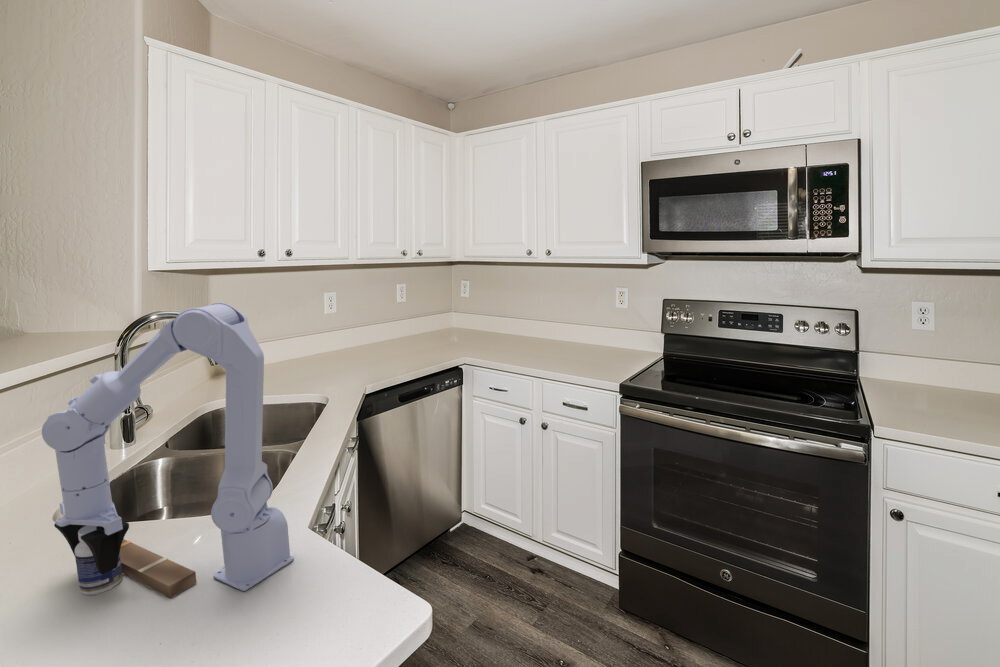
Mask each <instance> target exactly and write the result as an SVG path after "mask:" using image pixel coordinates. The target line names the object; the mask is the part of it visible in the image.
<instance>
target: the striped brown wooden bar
mask: <svg viewBox="0 0 1000 667" xmlns="http://www.w3.org/2000/svg"><path fill="white" fill-rule="evenodd" d="M120 558H121V566H122V575H125V576H126V577H128V578H129V579H132V580H134V581H136V582H138V583H140V584H142V585H144V586H146V587H147V588H150V589H151V590H154V591H155V592H157V593H159V594H162V595H163V596H164V597H165V596H166V597H168V598H169V599H172V598H174V597H176V596H177V595H179V594H181V593H182V592H184V591H186V590H188V589H189V588H191V587H193V586H194V585H197V583H198V582H197V575H196V571H194V570H192V569H191V568H188V567H187V566H183V565H181V564H180V563H177V562H175V561H173V560H171V559H169V558H168V557H165V556H162V555H160V554H157V553H155V552H153V551H151V550H148V549H146V548H144V547H141V545H138V544H135V543H133V541H130V540H126V539H125V538H124V539H123V541H122V544H121V548H120Z"/></svg>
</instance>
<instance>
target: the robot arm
mask: <svg viewBox="0 0 1000 667" xmlns="http://www.w3.org/2000/svg"><path fill="white" fill-rule="evenodd" d="M187 350H188V351H191V352H193V353H196V354H198V355H200V356H203V357H206V358H208V359H211V360H212V361H214V362H215V363H216V364H218V365H219V366H221V368H223V369H224V370H225V423H224V424H225V429H224V430H225V433H224V434H225V435H224V436H225V437H224V440H225V442H224V470H223V472H222V475H221V478H220V481H219V484H218V487H217V497H216V500H215V501H214V503H213V504H212V506H211V510H210V513H211V515H210V517H211V520H212V522H213V523H214V525H215V526H216V527H217V528H218V529H219V530H220V535H221V536H220V537H221V545H222V554H223V555H222V557H223V568H222V569H219V570H218V571H216V572H214V573H213V575H212V577H213V578H214V579H215V580H218V581H220V582H222V583H225V584H227V585H229V586H231V587H233V588H235V589H238V590H240V591H241V592H242V591H243V592H244V591H247V590H249V589H250V588H252V587H253V586H255V585H257V584H258V583H260V582H261V581H263V580H265V579H266V578H267V577H269V576H271V575H272V574H274V573H276V572H277V571H279V570H280V569H282V568H283V567H285V566H287V565H288V564H289V563H291V562H293V561H294V556H293V555H292V556H291V549H290V536H289V526H288V521H287V519H286V517H285V515H284V513H283V512H282V511H281V510H280V509H279V508H277V507H275V506H271V507H269V506H268V502H267V501H268V500H270V499H271V496H272V494H273V490H274V489H273V488H274V486H273V483H272V480H271V478H270V476H269V473H268V464H267V463H265V462H264V461H263V460H262V457H263V456H262V455H263V418H264V417H263V416H264V415H263V414H264V379H265V378H264V376H265V355H264V352H263V350H262V348H261V346H260V345H259V343H258V341H257V339H256V338H255V335H254V334H253V332H252V330H251V328H250V326H249V320H248V317H247V316H246V315H244V314H243V312H240V311H239V310H238V309H237V308H235V307H234V306H233V305H231V304H228V303H226V302H214V303H212V304H209V305H205V306H200V307H190V308H187V309H184V310H182V311H181V312H179V314H178V315H177V316H175V318H174V319H171V320H170V321H168V322H167V323H165V324H164V325H163V326H162V328H160V330H159V331H158V332H157V333H156V334H155V335H154V336H153V337H152V338H151V339H150V340H149V341H148V342H147V343H146V344H145V345H144V346H143V347H142V348H141V349H140V350H139V351H138V352H137V353H136V354H135V355H134V356H133V357H132V358H131V359H130V360H129V361H128V362H127V363H126V364H125V365H124V366H123V367H122V368H121V369H120V370H118V371H117V370H112V371H106V372H104V373H99V374H96V375H95V376H93V377H92V378H90V380H89V381H90V383H91V385H90V386H89V387H87V389H86V390H84V391H83V392H82V393H81V394H80V395H79V396H75V397H73V398H71V399H70V400H68V402H67V404H68V407H67V409H66V410H63V411H57V412H55V413H53V414H50V415H49V416H47V419H46V421H44V423H43V424H42V427H41V437H42V439H43V441H44V442H45V444H46V445H47V446H49V447H50V448H51V449H53V450H55V457H56V464H57V470H58V471H57V472H58V477H59V483H60V484H59V485H60V490H61V496H62V501H60V502H59V508H60V509H59V510H60V515H63V516H62V517H60V518H57V519H56V520H55V523H54V526H53V527H55V528H56V529H57V530H58V531H59V532H60V533H61V535H62V536H63V537H64V539H65V540H66V541H67V543H68V545H69V547H70V549H71V551H72V554H73V555H74V557H75V547H76V546H77V545H78V544H79V543H80V541H79V539H78V531H79V530H80V529H81V528H83V527H84V526H87V525H89V526H97V527H96V530H95V531H92V532H90V533H87V534H85V535H82V536H81V539H82V540H83V541H84V542H85V543H86V544H87V546H88V547H89V548H90V550H91V552H92V554H93V557H94V560H95V563H96V566H97V569H98V571H99V572H100V573H101V574H104V573H107V572H109V571H111V570H113V569H115V568H117V565H118V560H119V553H120V548H121V544H122V541H123V539H125V536H126V534H127V532H128V530H129V529H130V524H129V522H127V521H126V520H125V521H124V520H122V517H121V516H119V515H118V512H117V509H116V507H115V503H114V502H113V500H112V492H111V487H110V477H109V472H108V471H109V470H108V463H107V455H106V449H105V444H106V434H107V433H108V432H109V430H110V428H111V424H112V423H113V422H114V421H116V419H117V418H118V417H119V416H120V415H121V414H122V413H124V412H125V411H126V410H127V409H128V408H129V407H130V406H131V405H132V404H134V402H136V401H137V399H139V398H140V396H141V395H142V394H141V393H142V392H141V384H143V383H144V382H145V381H146V380H147V379H148V378H150V377H151V376H152V375H153V374H154V373H156V372H157V371H158V370H159V369H161V367H163V366H164V365H165V364H166V363H167V362H169V360H172V358H173V357H174V356H176V355H177V354H178V353H181V352H185V351H187Z"/></svg>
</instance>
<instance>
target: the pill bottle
mask: <svg viewBox="0 0 1000 667" xmlns="http://www.w3.org/2000/svg"><path fill="white" fill-rule="evenodd" d="M96 527H97V526H89V525H87V526H84V527H83V528H81V529H80V530H79V531H78V539H79V541H80V543H79V544H78V545H77V546H76V547H75V556H74V559H75V564H76V572H77V578H78V585H79V586H78V587H79V591H80V593H82V594H83V595H88V596H89V595H90V596H91V595H98V594H100V593H104V592H106V591H108V590H111V589H113V588H114V587H117V586H118V585H119V583H121V581H122V580H123V574H122V566H121V558H120V553H119V560H118V565H117V568H115V569H113V570H111V571H109V572H107V573H104V574H101V573H100V572H99V571H98V569H97V566H96V563H95V560H94V557H93V554H92V552H91V550H90V548H89V547H88V546H87V544H86V543H85V542H84V541H83V540H82V539H81V536H82V535H85V534H87V533H90V532H92V531H95V530H96Z"/></svg>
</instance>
